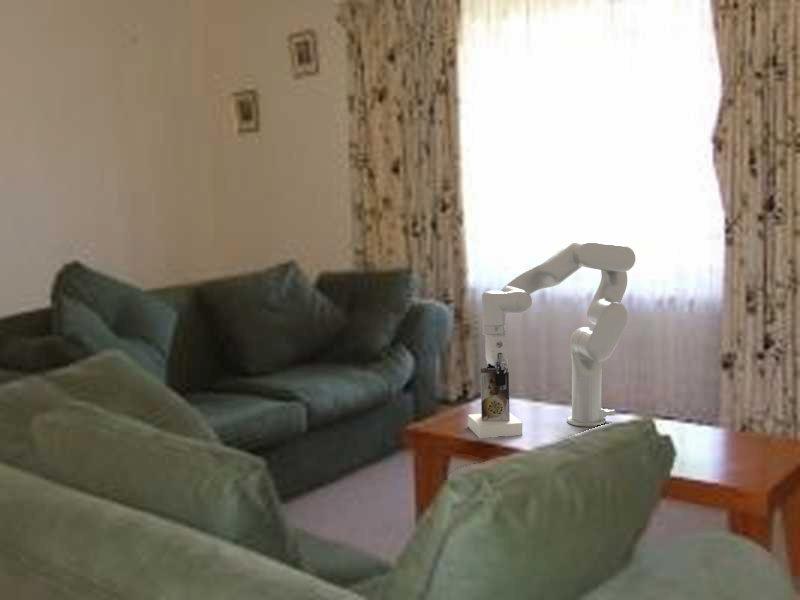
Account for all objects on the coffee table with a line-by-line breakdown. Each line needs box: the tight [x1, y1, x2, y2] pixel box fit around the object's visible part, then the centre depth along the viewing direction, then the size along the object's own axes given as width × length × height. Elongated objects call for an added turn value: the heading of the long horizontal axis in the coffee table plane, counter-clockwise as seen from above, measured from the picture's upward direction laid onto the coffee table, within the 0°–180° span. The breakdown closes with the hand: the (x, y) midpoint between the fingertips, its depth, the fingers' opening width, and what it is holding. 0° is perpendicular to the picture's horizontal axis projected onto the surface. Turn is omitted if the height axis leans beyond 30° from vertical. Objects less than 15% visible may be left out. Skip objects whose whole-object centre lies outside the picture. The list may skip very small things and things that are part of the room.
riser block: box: [467, 412, 523, 439], centre depth 311 cm, size 14×14×4 cm
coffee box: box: [480, 367, 511, 421], centre depth 309 cm, size 9×6×16 cm
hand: (496, 381), depth 309 cm, fingers open, 9 cm apart
